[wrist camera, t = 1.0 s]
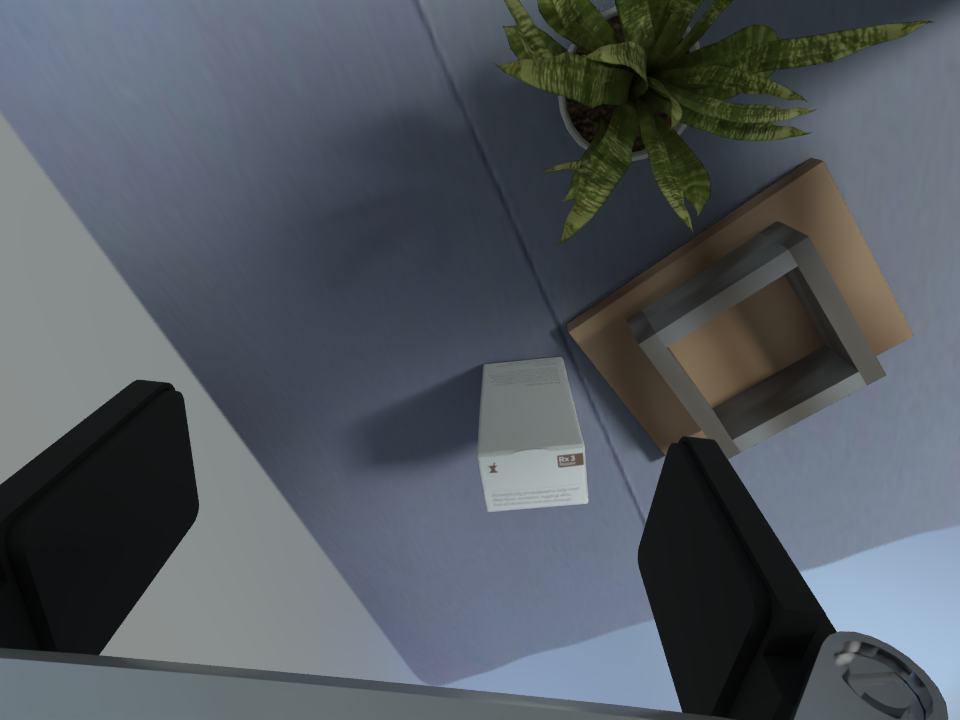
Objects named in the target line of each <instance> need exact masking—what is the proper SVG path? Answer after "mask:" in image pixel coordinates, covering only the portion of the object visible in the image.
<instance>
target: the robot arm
mask: <svg viewBox="0 0 960 720" xmlns="http://www.w3.org/2000/svg"><path fill="white" fill-rule="evenodd" d="M198 510H199V500H198V493H197V486H196V480H195V473H194V466H193V459H192V452H191V446H190V438H189V431H188V424H187V417H186V410H185V404H184V398H183V395H182V394H181V393H180V392H179V391H175V388H174V387H173V385H172V384H170V383H166V382H156V381H145V380H136V381H134V382H132V383H131V384H130V385H128V386H127V387H126V388H124V389H123V390H122V391H120V392H119V393H118V394H117V395H115V396H114V397H113V398H112V399H110V400H109V401H108V402H106V403H105V404H104V405H102V406H101V407H100V408H99V409H98V410H96V411H95V412H93V413H92V414H91V415H90V416H88V417H87V418H86V419H84V420H83V421H82V422H81V423H80V424H78V425H77V426H75V427H74V428H73V429H71V430H70V431H69V432H68V433H66V434H65V435H64V436H62V437H61V438H60V439H59V440H57V441H56V442H55V443H53V444H52V445H51V446H50V447H48V448H47V449H46V450H44V451H43V452H42V453H41V454H39V455H38V456H37V457H35V458H34V459H33V460H32V461H30V462H29V463H28V464H26V465H25V466H24V467H23V468H22V469H20V470H19V471H17V472H16V473H15V474H14V475H12V476H11V477H10V478H8V479H7V480H6V481H4V482H3V483H2V484H1V485H0V720H948V713H947V707H946V702H945V700H944V698H943V697H942V695H941V693H940V691H939V689H938V687H937V686H936V685H935V683H934V682H933V681H932V680H931V679H930V677H929V676H928V675H927V674H926V673H925V671H924V670H922V669H921V668H920V667H919V666H918V665H917V664H915V663H914V662H913V661H912V660H911V659H910V658H909V657H907V656H906V655H904V654H903V653H901V652H900V651H898V650H897V649H895V648H894V647H892V646H891V645H889V644H887V643H884V642H882V641H880V640H878V639H876V638H874V637H871V636H868V635H864V634H860V633H857V632H837V631H836V630H835V628H834V627H833V625H832V624H831V622H830V620H829V619H828V617H827V616H826V613H825V612H824V610H823V609H822V607H821V606H820V604H819V603H818V601H817V599H816V598H815V596H814V595H813V593H812V592H811V590H810V588H809V587H808V585H807V584H806V582H805V581H804V579H803V577H802V576H801V574H800V572H799V571H798V569H797V568H796V566H795V565H794V563H793V561H792V560H791V558H790V557H789V555H788V554H787V552H786V550H785V549H784V547H783V546H782V544H781V543H780V541H779V539H778V538H777V536H776V535H775V533H774V532H773V530H772V528H771V527H770V525H769V524H768V522H767V521H766V519H765V517H764V516H763V514H762V513H761V511H760V510H759V508H758V506H757V505H756V503H755V502H754V500H753V499H752V497H751V495H750V494H749V492H748V491H747V489H746V488H745V486H744V484H743V483H742V481H741V480H740V478H739V476H738V475H737V473H736V472H735V470H734V469H733V467H732V465H731V464H730V462H729V461H728V459H727V458H726V456H725V454H724V453H723V451H722V450H721V448H720V447H719V445H718V443H717V442H716V441H715V440H713V439H706V438H696V437H687V436H683V437H682V438H681V439H680V440H679V442H678V443H671V444H670V446H669V448H668V451H667V454H666V457H665V461H664V464H663V468H662V471H661V474H660V478H659V481H658V484H657V488H656V491H655V495H654V498H653V501H652V505H651V508H650V511H649V515H648V518H647V522H646V525H645V528H644V532H643V535H642V538H641V542H640V545H639V549H638V565H639V569H640V572H641V576H642V579H643V582H644V586H645V589H646V592H647V596H648V599H649V602H650V606H651V609H652V612H653V616H654V619H655V622H656V626H657V629H658V632H659V636H660V639H661V642H662V646H663V649H664V652H665V656H666V659H667V662H668V666H669V669H670V672H671V676H672V679H673V682H674V686H675V689H676V692H677V696H678V699H679V702H680V706H681V709H682V712H683V713H681V712H673V711H664V710H655V709H647V708H639V707H631V706H622V705H612V704H604V703H594V702H584V701H573V700H564V699H553V698H544V697H534V696H525V695H515V694H505V693H495V692H485V691H475V690H465V689H455V688H445V687H435V686H424V685H414V684H403V683H393V682H383V681H372V680H362V679H352V678H340V677H330V676H320V675H309V674H299V673H298V674H297V673H287V672H277V671H267V670H256V669H245V668H234V667H223V666H211V665H200V664H189V663H177V662H166V661H156V660H144V659H133V658H122V657H111V656H100V655H99V654H100V653H101V651H102V650H103V649H104V647H105V646H106V645H107V643H108V642H109V641H110V639H111V638H112V636H113V635H114V634H115V632H116V631H117V629H118V628H119V627H120V625H121V624H122V622H123V621H124V619H125V618H126V617H127V615H128V614H129V613H130V611H131V610H132V608H133V607H134V606H135V604H136V603H137V601H138V600H139V599H140V597H141V596H142V595H143V593H144V592H145V590H146V589H147V587H148V586H149V585H150V583H151V582H152V581H153V579H154V578H155V576H156V575H157V574H158V572H159V571H160V569H161V568H162V567H163V565H164V564H165V562H166V561H167V559H168V558H169V557H170V555H171V554H172V553H173V551H174V550H175V548H176V547H177V546H178V544H179V543H180V541H181V540H182V538H183V537H184V536H185V535H186V533H187V532H188V530H189V529H190V528H191V526H192V525H193V523H194V522H195V520H196V517H197V514H198Z"/></svg>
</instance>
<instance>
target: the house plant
mask: <svg viewBox="0 0 960 720" xmlns="http://www.w3.org/2000/svg"><path fill="white" fill-rule="evenodd" d="M732 1H733V0H714V2H713V3H712V4H711V6H710V7H709V8H708V10H707V11H706V12H705V14H704V15H703V16H702V17H701V18H700V20H699V21H698V22H697V23H696V24H695V26H694V27H693V28H692V29H691V28H690V27H689V23H690V21H691V19H692V17H693V15H694V14H695V12H696V11H697V9H698V8H699V6H700V5H701V3H702V2H703V0H615V4H616V6H614V7H612V8H610V9H608V10H606V11H605V12H603V13H600V12H599V11H598V10H597V9H596V7H595V6H594V5H593V4H592V3H591V2H590V1H589V0H537V2H538V8H539V12H540V13H541V15H542V16H543V18H544V19H545V21H546V22H547V24H548V25H549V26H550V27H551V28H553V29H554V30H555V31H556V32H557V33H559V34H560V35H562V36H563V37H565V38H566V39H568V40H570V41H571V42H572V44H571V46H570V47H569V49H568V50H566V49H565V48H564V47H562V46H561V45H560V44H559V43H558V42H556V41H555V40H554V39H553V38H552V37H550V36H549V35H548V34H547V33H545V32H544V31H542V30H541V29H539V28H537V27H535V25H534V23H533V22H532V20H531V18H530V17H529V15H528V14H527V12H526V10H525V9H524V7H523V6H522V4H521V3H520V1H519V0H504V2H505V3H506V5H507V7H508V9H509V10H510V12H511V14H512V16H513V18H514V20H515V23H516V26H508V27H506V26H503V28H504V29H505V31H506V35H507V38H508V42H509V45H510V49H511V50H512V51H513V52H514V54H515V55H516V56H517V57H518V58H519V60H516V61H513V62H511V63H508V64H505V65H500V66H499V65H498V64H496V63H494V62H493V63H494V64H495V65H496V66H498V67H499V68H500V69H501V70H502V71H504V72H505V73H507V74H509V75H511V76H513V77H515V78H517V79H519V80H521V81H523V82H525V83H527V84H528V85H530V86H533V87H536V88H539V89H542V90H545V91H547V92H549V93H552V94H555V95H558V99H559V107H560V113H561V115H562V118H563V120H564V123H565V125H566V128H567V130H568V132H569V133H570V134H571V135H572V137H573V138H574V139H575V141H576V142H577V143H578V145H580V146H581V147H582V148H584V149H585V150H586V152H585V153H584V155H583V156H582V158H581V160H580V161H574V162H568V163H563V164H559V165H556V166H553V167H550V168H547V169H544V170H542V171H556V170H565V169H573V170H575V172H574V175H573V178H572V182H571V186H570V188H569V191H568V193H567V195H566V198H565V199H563V200H562V201H561V202H563V201H566V200H572V199H577V200H576V202H575V204H574V206H573V208H572V209H571V211H570V213H569V215H568V217H567V219H566V221H565V224H564V229H563V234H562V238H561V241H560V242H559V243H562V242H564V241H565V240H567V239H569V238H570V237H571V236H572V235H573V234H575V233H576V232H577V231H578V230H579V229H580V228H582V227H583V226H584V225H585V224H586V223H588V222H589V221H590V219H591V218H592V217H593V216H594V214H595V213H596V212H597V211H598V210H599V209H600V208H601V206H602V205H603V204H604V203H605V201H606V200H607V198H608V196H609V195H610V193H611V192H612V190H613V189H614V187H615V186H616V184H617V183H618V181H619V180H620V179H621V177H622V176H623V175H624V174H625V172H626V171H627V169H628V167H629V165H630V164H631V162H632V161H636V160H641V159H646V158H648V157H649V160H650V164H651V168H652V173H653V175H654V177H655V180H656V182H657V185H658V187H659V188H660V190H661V192H662V193H663V195H664V196H665V198H666V199H667V201H668V202H669V204H670V205H671V207H672V208H673V209H674V211H675V212H676V214H677V215H678V216H679V217H680V218H681V219H682V220H683V221H684V223H685V224H686V225H687V226H688V227H689V228H690V229H691V230H692V225H691V218H690V215H689V213H688V211H687V209H686V207H685V205H684V197H685V198H686V199H687V200H688V201H689V202H690V203H691V204H692V206H693V207H694V208H695V210H696V211H697V216H698V215H699V213H700V212H701V210H702V209H703V207H704V206H705V204H706V203H707V201H708V199H709V198H710V194H711V183H710V179H709V175H708V173H707V171H706V169H705V168H704V166H703V164H702V163H701V162H700V160H699V159H698V158H697V157H696V155H695V154H694V153H693V152H692V150H691V149H690V148H689V147H688V145H687V144H686V143H685V142H684V141H683V139H682V138H681V137H680V134H681V133H682V132H683V131H684V129H685V128H686V127H687V125H688V126H691V127H694V128H698V129H701V130H705V131H708V132H710V133H713V134H716V135H718V136H721V137H725V138H730V139H736V140H750V141H761V140H779V139H785V138H789V137H795V136H802V135H806V134H809V133H807V132H804V131H801V130H799V129H797V128H794V127H785V126H775V125H773V124H772V123H770V122H776V121H782V120H787V119H792V118H794V117H797V116H800V115H803V114H807V113H810V112H812V111H814V110H809V109H803V108H791V109H780V108H777V107H773V106H768V105H744V104H735V103H728V102H725V101H721V100H723V99H727V98H731V97H734V96H736V95H738V94H739V93H744V94H761V95H772V96H776V97H779V98H783V99H787V100H805V99H804V98H803V97H802V96H800V95H798V94H797V93H795V92H793V91H792V90H790V89H788V88H787V87H785V86H783V85H780V84H778V83H776V82H774V81H771V80H769V79H767V78H768V77H769V76H771V75H772V74H773V73H774V71H775V70H780V69H788V68H796V67H803V66H810V65H816V64H822V63H829V62H832V61H834V60H837V59H839V58H842V57H845V56H847V55H850V54H852V53H855V52H857V51H860V50H862V49H864V48H867V47H869V46H871V45H875V44H879V43H882V42H886V41H889V40H893V39H896V38H899V37H902V36H905V35H907V34H909V33H910V32H912V31H914V30H916V29H917V28H919V27H921V26H923V25H925V24H927V23H932V21H915V22H906V23H890V24H884V25H878V26H872V27H864V28H856V29H850V30H844V31H838V32H832V33H827V34H820V35H814V36H808V37H801V38H792V39H782V40H779V39H778V37H777V35H776V33H775V31H774V30H772V29H771V28H769V27H767V26H765V25H752V26H749V27H746V28H743V29H741V30H740V31H738V32H736V33H734V34H732V35H730V36H728V37H726V38H725V39H723V40H721V41H719V42H717V43H714V44H711V45H709V46H706V47H703V48H700V45H699V42H698V40H699V39H700V38H701V36H702V35H703V34H704V33H705V32H706V31H707V29H708V28H709V27H710V25H711V24H712V23H713V21H714V20H715V19H716V18H717V17H718V16H719V15H720V14H721V13H722V11H723V10H724V9H725V8H726V7H727V6H728V5H729V4H730V3H731V2H732ZM805 101H806V100H805ZM806 102H807V101H806ZM815 110H816V109H815ZM810 133H812V132H810ZM540 172H541V171H540ZM683 195H684V197H683ZM692 231H693V230H692ZM693 232H694V231H693ZM694 233H695V232H694ZM559 243H557V244H559ZM557 244H556V245H557Z"/></svg>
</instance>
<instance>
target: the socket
mask: <svg viewBox="0 0 960 720" xmlns="http://www.w3.org/2000/svg"><path fill="white" fill-rule="evenodd" d="M567 327H568V332H569V333H570V335H571V336H572V337H573V339H574V340H575V341H576V342H577V344H578V345H579V346H580V348H581V349H582V350H583V351H584V353H585V354H586V355H587V356H588V358H589V359H590V360H591V362H592V363H593V364H594V365H595V367H596V368H597V369H598V370H599V372H600V373H601V374H602V376H603V377H604V378H605V379H606V381H607V382H608V383H609V385H610V386H611V387H612V388H613V390H614V391H615V392H616V393H617V395H618V396H619V397H620V399H621V400H622V401H623V402H624V404H625V405H626V406H627V408H628V409H629V410H630V411H631V413H632V414H633V415H634V416H635V418H636V419H637V420H638V422H639V423H640V424H641V425H642V427H643V428H644V429H645V431H646V432H647V433H648V434H649V436H650V437H651V438H652V439H653V441H654V442H655V443H656V445H657V446H658V447H659V448H660V450H661V451H662V452H663V453H664V455H665V456H666V454H667V451H668V448H669V446H670V444H671V443H678V442H679V440H680V439H681V438H682V437H683V436H687V437H696V438H706V439H713V440H715V441H716V442H717V443H718V445H719V447H720V448H721V450H722V451H723V453H724V454H725V456H726V458H727V459H729V458H731V457H733V456H735V455H737V454H739V453H741V452H742V451H744V450H746V449H748V448H750V447H752V446H754V445H756V444H758V443H759V442H761V441H763V440H765V439H767V438H769V437H771V436H773V435H774V434H776V433H778V432H780V431H782V430H784V429H786V428H788V427H790V426H791V425H793V424H795V423H797V422H799V421H801V420H803V419H805V418H807V417H808V416H810V415H812V414H814V413H816V412H818V411H820V410H822V409H823V408H825V407H827V406H829V405H831V404H833V403H835V402H837V401H839V400H840V399H842V398H844V397H846V396H848V395H850V394H852V393H854V392H856V391H857V390H859V389H861V388H863V387H865V386H867V385H869V384H871V383H872V382H874V381H876V380H878V379H880V378H882V377H884V376H886V374H885V372H884V370H883V368H882V366H881V365H880V363H879V361H878V359H877V357H876V356H877V355H879V354H881V353H883V352H884V351H886V350H888V349H890V348H892V347H894V346H895V345H897V344H899V343H901V342H903V341H905V340H907V339H908V338H910V337H912V336H914V334H913V332H912V331H911V329H910V327H909V325H908V323H907V321H906V319H905V317H904V315H903V313H902V311H901V309H900V307H899V305H898V304H897V302H896V300H895V298H894V296H893V294H892V292H891V290H890V288H889V286H888V284H887V282H886V280H885V278H884V277H883V275H882V273H881V271H880V269H879V267H878V265H877V263H876V261H875V259H874V257H873V255H872V253H871V251H870V249H869V248H868V246H867V244H866V242H865V240H864V238H863V236H862V234H861V232H860V230H859V228H858V226H857V224H856V222H855V221H854V219H853V217H852V215H851V213H850V211H849V209H848V207H847V205H846V203H845V201H844V199H843V197H842V195H841V194H840V192H839V190H838V188H837V186H836V184H835V182H834V180H833V178H832V176H831V174H830V172H829V170H828V168H827V166H826V165H825V163H824V161H822V160H817V159H813V158H811V159H809V160H808V161H806V162H805V163H803V164H802V165H800V166H799V167H797V168H796V169H794V170H793V171H791V172H790V173H789V174H787V175H786V176H784V177H783V178H781V179H780V180H778V181H777V182H775V183H774V184H772V185H771V186H769V187H768V188H766V189H765V190H764V191H762V192H761V193H759V194H758V195H756V196H755V197H753V198H752V199H750V200H749V201H747V202H746V203H744V204H743V205H741V206H740V207H739V208H737V209H736V210H734V211H733V212H731V213H730V214H728V215H727V216H725V217H724V218H722V219H721V220H719V221H718V222H716V223H715V224H713V225H712V226H711V227H709V228H708V229H706V230H705V231H703V232H702V233H700V234H699V235H697V236H696V237H694V238H693V239H691V240H690V241H688V242H687V243H686V244H684V245H683V246H681V247H680V248H678V249H677V250H675V251H674V252H672V253H671V254H669V255H668V256H666V257H665V258H663V259H662V260H660V261H659V262H658V263H656V264H655V265H653V266H652V267H650V268H649V269H647V270H646V271H644V272H643V273H641V274H640V275H638V276H637V277H635V278H634V279H633V280H631V281H630V282H628V283H627V284H625V285H624V286H622V287H621V288H619V289H618V290H616V291H615V292H613V293H612V294H610V295H609V296H608V297H606V298H605V299H603V300H602V301H600V302H599V303H597V304H596V305H594V306H593V307H591V308H590V309H588V310H587V311H585V312H584V313H582V314H581V315H580V316H578V317H577V318H575V319H574V320H572V321H571V322H569V323H568V324H567Z"/></svg>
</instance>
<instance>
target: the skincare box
mask: <svg viewBox="0 0 960 720" xmlns="http://www.w3.org/2000/svg"><path fill="white" fill-rule="evenodd" d="M477 459H478V463H479V468H480V473H481V479H482V484H483V490H484V496H485V504H486V510H487V511H488V512H494V511H505V510H516V509H528V508H539V507H551V506H563V505H576V504H587V503H588V489H587V477H586V460H585V446H584V442H583V439H582V435H581V431H580V427H579V423H578V419H577V414H576V410H575V406H574V402H573V398H572V394H571V390H570V386H569V382H568V378H567V374H566V369H565V365H564V360H563V358H562V357H552V358H542V359H532V360H522V361H512V362H502V363H492V364H485V365H483V377H482V390H481V403H480V415H479V432H478V448H477Z"/></svg>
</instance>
